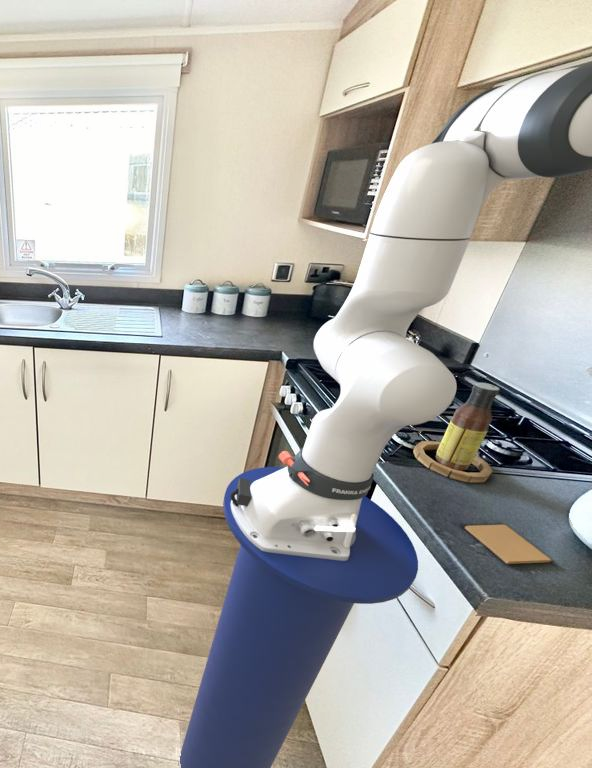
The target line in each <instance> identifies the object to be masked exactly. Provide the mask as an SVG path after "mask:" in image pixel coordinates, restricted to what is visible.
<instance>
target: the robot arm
mask: <svg viewBox="0 0 592 768" xmlns="http://www.w3.org/2000/svg"><path fill="white" fill-rule="evenodd" d="M590 171H592V62H589V63H586V64H584V65H580V66H577V67H570V68H563V69H559V70H548V71H542V72H539V73H534V74H532V75H529V76H525V77H522V78H519V79H517V80H514V81H511V82H509V83H506V84H502V85H497V86H494V87H492V88H489V89H487V90H485V91H483V92H481V93H479V94H477V95H476V96H473V97H472V98H470V99H469V100H467V101H466V102H465V103H463V104H462V105H461V106H460V107H459V108H457V110H455V112H454V113H452V114H451V116H450V117H449V119H448V120H447V121H446V122H445V124H444V125H443V127H442V128H441V130H440V131H439V133H438V135H437V136H436V137H435V138H434V140H433V141H431V143H430V144H426V145H424V146H421V147H418V148H417V149H415V150H413V151H411V152H410V153H408V154H407V155H406V156H405V157H404V158H403V159H402V160H401V161H400V163H399V164H398V165H397V167H396V169H395V170H394V173H393V175H392V177H391V179H390V181H389V183H388V185H387V187H386V189H385V192H384V193H383V196H382V198H381V200H380V203H379V205H378V208H377V211H376V213H375V216H374V218H373V222H372V225H371V228H370V232H369V236H368V239H367V242H366V246H365V248H364V252H363V256H362V258H361V262H360V265H359V268H358V271H357V275H356V278H355V280H354V282H353V284H352V287H351V290H350V292H349V294H348V296H347V297H346V299H345V300H344V303H343V304H342V306H341V307H340V309H339V311H338V312H337V314H336V315H335V316H334V317H333V318H331V319H330V320H328V321H326V322H325V323H324V324H323V325H322V326H321V327H319V329H318V331H317V332H316V334H315V336H314V338H313V351H314V353H315V356H316V359H317V360H318V362H319V364H320V365H321V368H322V369H323V370H324V371H325V372H326V373H327V374H328V375H329V376H330V377H331V378H333V379H334V380H335V382H337V383H338V385H339V386H340V387H339V388H340V393H339V396H338V399H337V400H336V401H335V403H334V404H333V406H332V407H330V408H325V409H322V410H320V411H319V412H317V413H316V414H315V415H314V416H313V418H312V420H311V424H310V427H309V428H308V433H307V435H306V438H305V442H304V445H303V447H301V449H299V451H298V452H297V453H296V454H295V455H294V456H291V454H290V453H289V451H287V450H283V451H281V452H280V453H279V454H278V459H279V460H280V461H281V462H282V464H283V465H284V466H285V468H283V469H281V470H278V471H276V472H274V473H272V474H270V475H268V476H265V477H263V478H261V479H259V480H256V481H254V482H253V483H252V484H251V486H250V480H247V479H243V478H239V480H238V484H237V489H235V490H234V491H233V492H232V493H231V511H232V514H233V516H234V519H235V521H236V523H237V524H238V526H239V528H240V529H241V531H242V532H243V534H244V535H245V536H246V537H247V539H248V540H249V541H250V542H251V543H252V544H254V545H255V546H256V547H257V548H259V549H260V550H262V551H264V552H270V553H278V554H287V555H295V556H304V557H312V558H321V559H330V560H338V561H347V560H348V559H349V555H350V547H351V546H352V545H353V543H354V542H355V539H356V523H357V519H358V514H359V510H360V505H361V501H362V498H363V497H364V496H366V497H367V495H368V493H369V490H371V488H372V486H371V485H372V483H373V481H374V478H375V475H374V471H375V469H376V467H377V465H378V462H379V460H380V458H381V457H382V454H383V452H384V450H385V448H386V446H387V444H388V443H389V441H390V440H391V439H392V438H393V437H394V435H395V434H397V433H398V432H399V431H400V430H401V429H403V428H405V427H407V426H417V425H422V424H425V423H428V422H429V421H432V420H434V419H435V418H437V417H438V416H440V415H442V414H443V413H444V412H445V411H446V410H447V409H448V408H449V406H450V405H451V404H452V402H453V401H454V399H455V396H456V393H457V387H458V386H457V380H456V378H455V376H454V374H453V373H452V372H451V371H450V370H449V368H448V367H447V366H446V365H445V364H444V363H443V362H442V361H441V360H440V359H439V358H438V357H437V356H436V355H435V354H434V353H433V352H432V351H430V350H428V349H426V348H425V347H422V346H420V345H419V344H417V343H415V342H413V341H412V340H410V339H408V338H407V332H408V330H409V328H410V326H411V323H413V322H414V320H415V319H416V317H417V316H418V315H419V314H420V312H422V311H423V310H424V309H425V308H428V307H431V306H434V305H436V304H438V303H440V302H441V301H442V300H444V299H445V298H446V297H447V295H448V294H449V292H450V290H451V288H452V286H453V282H454V280H455V278H456V275H457V272H458V270H459V268H460V265H461V263H462V261H463V258H464V255H465V252H466V250H467V247H468V244H469V242H470V240H471V238H472V235H473V232H474V230H475V226H476V224H477V221H478V218H479V214H480V212H481V208H482V206H483V205H484V203H485V202H486V200H487V198H489V196H490V195H491V193H492V192H493V191H494V190H495V189H496V188H497V187H498V186H500V184H502V183H503V182H504V181H505V180H506V181H509V180H529V179H538V178H549V179H550V178H551V179H553V178H555V179H556V178H558V179H559V178H564V177H565V178H566V177H570V176H576V175H580V174H583V173H587V172H590ZM585 371H586V372H587V373H588V375H589V376H590V377H592V365H590V366H587V367H586V370H585ZM236 494H237V495H236Z"/></svg>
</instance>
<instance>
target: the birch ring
mask: <svg viewBox="0 0 592 768" xmlns="http://www.w3.org/2000/svg"><path fill="white" fill-rule="evenodd" d="M440 443H441V441H438V440H436V441H435V440H421V441H420V442H418V443H417V444H415V445H414V447H413V450H412V451H413V452H412V453H413V455H414V457H415V459H416V460H417V461H418V462H420V463H421V464H423V465H424V467H426V468H427V469H430V470H431V471H433V472H435V473H438V474H440V475H442V476H444V477H446V478H448V477H449V479H453V480H457V481H461V482H466V483H471V484H472V483H484V482H486V481H487V480H488V479H489V478H490V476H491V475H492V473H493V469H492V468H491V466H490V464H489V463H488V462H487V461H486V460H485V459H483V458H482V457H480V456H479V455H477V454H476V456H475V458H474V460H473V462H472V463H471V464H472V465H473V466H474V467H476V468H477V470H478V472H466V471H461V470H460V471H459V470H454V469H451V468H449V467H446V466H444V465H442V464H440V463H439V462H438V461H436V460H434V459H433V458H431V457H430V456H429V455H427V454H426V453H425V450H427V451H429V450H430V451H431V450H436V451H437V450H438V448H439V445H440Z"/></svg>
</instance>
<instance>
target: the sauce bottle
mask: <svg viewBox="0 0 592 768" xmlns="http://www.w3.org/2000/svg"><path fill="white" fill-rule="evenodd" d="M500 390H501V388H500V387H498V386H496V385H494V384H491V383H487V382H481V381H480V382H474V383H473V386H472V388H471V392H470V395H469V397H468V399H467V400H466V402H464V403H462V404H461V405H458V406H457V407H456V408H455V411H454V413H453V416H452V417H451V419H450V421H449V423H448V426H447V428H446V429H445V432H444V434H443V437H442V439H441V441H440V442H441V443H440V445H439V448H438V450H436V454H435V461H436V462H437V463H439V464H442V465H444V466H446V467H449V468H451V469H454V470H459V471H463V472H465V471H466V470H469V468H470V466H471V464H472V462H473V460H474V458H475V456H476V455H477V454H478V452H479V449H480V447H481V445H482V443H483V442H484V439H485V437H486V435H487V434H488V432H489V428H490V425H491V423H492V421H493V416H492V404H493V402H494V400H495V399H496V397H497V396H498V395H499V393H500Z"/></svg>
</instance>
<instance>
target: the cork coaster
mask: <svg viewBox="0 0 592 768" xmlns="http://www.w3.org/2000/svg"><path fill="white" fill-rule="evenodd" d="M464 529H465V531H467V532H468V533H470V534H471V535H472V536H473V537H474V538H476V539H477V540H478V541H479V542H480V543H481V544H483V545H484V546H485V547H486V548H487V549H489V550H490V551H491V552H492V553H494V554H495V556H496V557H498V558H499V559H501V561H503V562H504V563H505V564H506V565H516V564H517V565H518V564H540V563H542V564H543V563H551V562H552V559H551V558H550V557H549V556H547V554H545V553H543V552H542V551H541V550H539V548H537V547H536V546H534V545H533V544H532V543H530V542H529V541H527V540H526V539H525V538H524V537H522V536H521V535H520V534H519V533H517V532H516V531H515V530H513V529H512V528H510V527H509V526H508V525H506V524H485V525H484V524H483V525H482V524H481V525H479V524H478V525H465V526H464Z"/></svg>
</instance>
